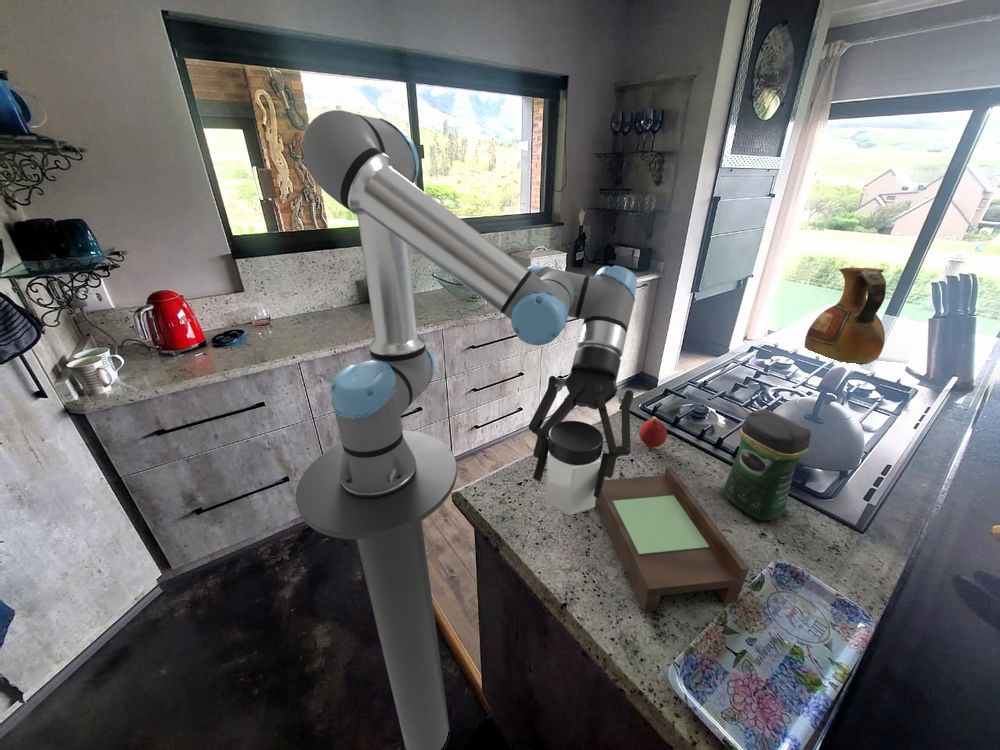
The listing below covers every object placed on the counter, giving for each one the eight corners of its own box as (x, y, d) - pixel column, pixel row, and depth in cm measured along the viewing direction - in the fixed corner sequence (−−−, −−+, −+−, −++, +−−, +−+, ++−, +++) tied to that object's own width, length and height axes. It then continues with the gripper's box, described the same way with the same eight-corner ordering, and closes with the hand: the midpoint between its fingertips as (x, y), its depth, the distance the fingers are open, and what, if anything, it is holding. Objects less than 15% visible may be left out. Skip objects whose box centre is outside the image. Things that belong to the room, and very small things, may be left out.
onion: (664, 443, 93) (670, 413, 89) (662, 457, 88) (669, 426, 85) (638, 437, 95) (643, 408, 91) (635, 451, 90) (640, 421, 87)
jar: (596, 519, 61) (605, 456, 56) (542, 512, 63) (546, 449, 57) (594, 480, 69) (602, 421, 64) (547, 474, 71) (550, 416, 65)
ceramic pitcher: (847, 348, 142) (882, 261, 128) (891, 373, 124) (937, 275, 110) (788, 347, 143) (816, 261, 130) (823, 371, 125) (860, 274, 112)
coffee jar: (790, 514, 73) (825, 428, 65) (761, 528, 70) (793, 440, 62) (742, 481, 81) (768, 401, 73) (714, 492, 78) (737, 410, 70)
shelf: (594, 501, 76) (597, 472, 73) (664, 495, 78) (671, 466, 75) (643, 612, 57) (651, 579, 54) (736, 602, 58) (749, 568, 55)
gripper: (664, 373, 67) (638, 510, 61) (542, 352, 75) (508, 472, 69) (668, 355, 60) (639, 508, 54) (533, 335, 68) (494, 466, 62)
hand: (566, 488), depth 61 cm, fingers closed on jar, 9 cm apart
